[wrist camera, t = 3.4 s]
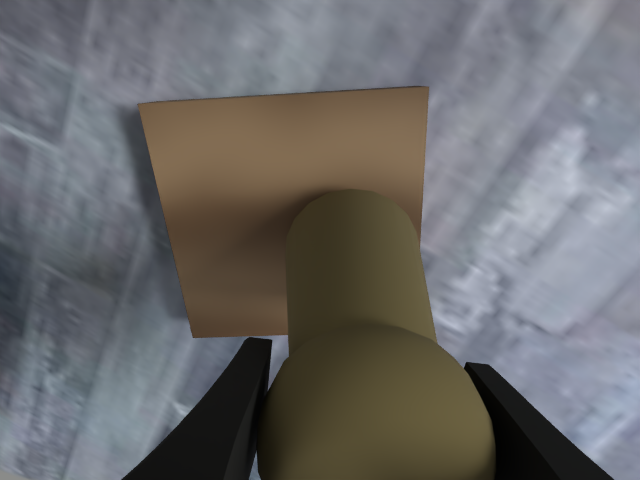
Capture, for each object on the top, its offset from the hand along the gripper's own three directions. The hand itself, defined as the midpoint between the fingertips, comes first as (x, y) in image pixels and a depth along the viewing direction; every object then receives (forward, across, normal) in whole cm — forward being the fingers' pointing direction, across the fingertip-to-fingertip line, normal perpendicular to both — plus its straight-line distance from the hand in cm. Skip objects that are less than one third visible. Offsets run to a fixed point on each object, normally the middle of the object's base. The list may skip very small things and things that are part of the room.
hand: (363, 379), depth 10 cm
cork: (+8, 0, 0) cm, 8 cm away
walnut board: (+11, +3, 0) cm, 11 cm away
